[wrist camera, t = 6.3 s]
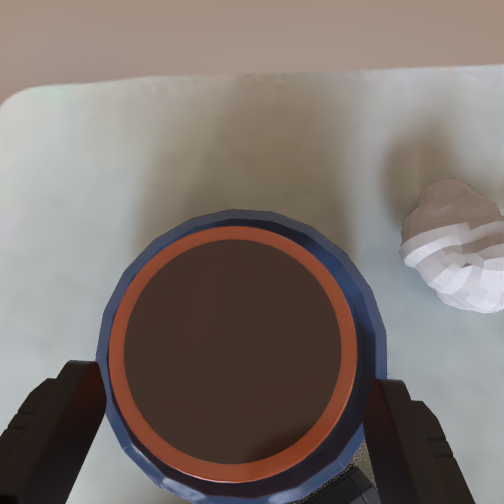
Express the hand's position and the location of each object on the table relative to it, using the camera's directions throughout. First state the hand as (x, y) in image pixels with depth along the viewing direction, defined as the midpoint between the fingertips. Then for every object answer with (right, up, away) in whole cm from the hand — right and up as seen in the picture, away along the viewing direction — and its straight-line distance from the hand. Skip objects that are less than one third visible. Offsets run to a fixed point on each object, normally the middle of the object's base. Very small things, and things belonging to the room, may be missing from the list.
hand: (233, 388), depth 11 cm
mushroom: (+13, +4, +9) cm, 17 cm away
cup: (0, -1, +7) cm, 7 cm away
